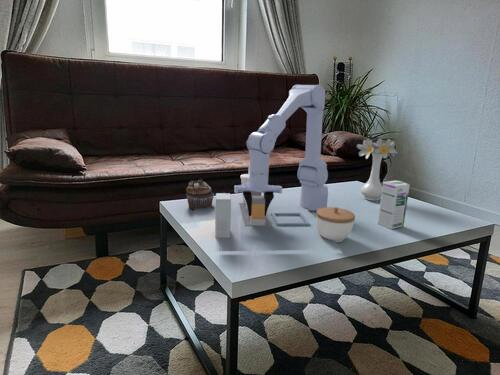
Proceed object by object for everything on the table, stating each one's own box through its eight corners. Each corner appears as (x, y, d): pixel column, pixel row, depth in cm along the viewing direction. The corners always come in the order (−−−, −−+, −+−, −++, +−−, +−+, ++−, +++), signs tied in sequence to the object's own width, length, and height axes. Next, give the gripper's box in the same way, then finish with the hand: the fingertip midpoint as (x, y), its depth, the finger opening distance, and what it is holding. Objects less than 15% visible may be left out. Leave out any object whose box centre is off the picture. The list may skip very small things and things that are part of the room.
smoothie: (256, 198, 136) (258, 163, 133) (255, 203, 130) (257, 166, 126) (240, 197, 137) (241, 162, 133) (238, 201, 131) (239, 165, 127)
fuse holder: (260, 205, 128) (260, 198, 127) (270, 228, 106) (271, 219, 105) (238, 205, 127) (239, 197, 126) (245, 228, 105) (245, 220, 104)
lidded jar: (328, 248, 94) (332, 215, 91) (307, 233, 103) (309, 203, 101) (359, 243, 98) (364, 211, 95) (336, 229, 107) (339, 200, 105)
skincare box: (215, 232, 101) (215, 192, 98) (229, 232, 102) (230, 193, 98) (214, 240, 95) (215, 199, 92) (230, 240, 96) (231, 199, 93)
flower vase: (365, 191, 153) (372, 134, 147) (399, 203, 137) (409, 140, 131) (342, 194, 147) (349, 135, 141) (375, 206, 131) (384, 141, 125)
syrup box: (391, 229, 109) (398, 185, 105) (376, 223, 114) (383, 180, 110) (403, 227, 111) (410, 183, 108) (389, 221, 116) (395, 179, 113)
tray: (300, 216, 117) (301, 212, 117) (309, 227, 107) (309, 223, 107) (271, 216, 116) (271, 212, 116) (276, 228, 106) (277, 223, 106)
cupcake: (198, 213, 116) (198, 185, 113) (180, 206, 122) (180, 179, 120) (219, 207, 123) (219, 180, 120) (201, 201, 129) (201, 175, 127)
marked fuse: (262, 219, 110) (263, 195, 108) (263, 224, 106) (265, 199, 104) (249, 219, 110) (250, 195, 108) (251, 224, 106) (252, 199, 104)
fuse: (258, 211, 118) (259, 189, 116) (260, 215, 114) (261, 192, 112) (247, 211, 118) (247, 189, 115) (248, 215, 114) (249, 192, 112)
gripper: (236, 174, 99) (234, 219, 103) (285, 175, 101) (282, 219, 105) (234, 169, 106) (233, 211, 110) (280, 170, 108) (277, 211, 111)
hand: (257, 214), depth 108 cm, fingers closed on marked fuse, 4 cm apart
